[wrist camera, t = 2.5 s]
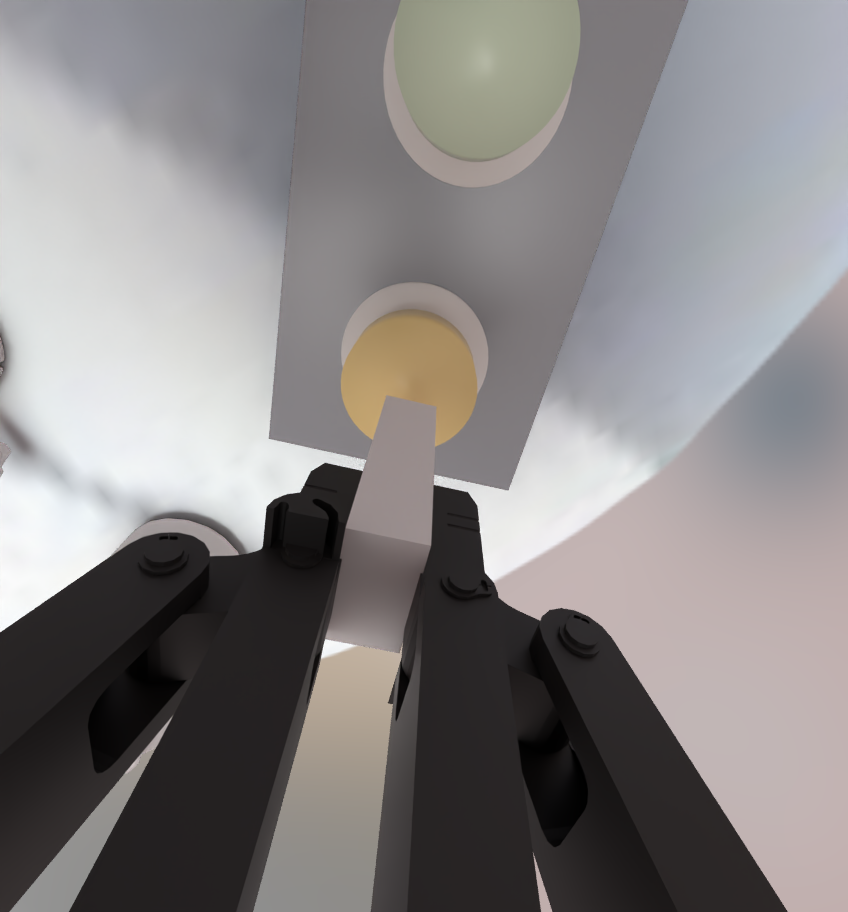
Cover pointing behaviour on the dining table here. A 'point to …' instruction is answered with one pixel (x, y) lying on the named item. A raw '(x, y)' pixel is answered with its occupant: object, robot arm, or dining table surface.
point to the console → (448, 224)
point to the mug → (1, 449)
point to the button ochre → (410, 371)
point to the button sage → (484, 70)
